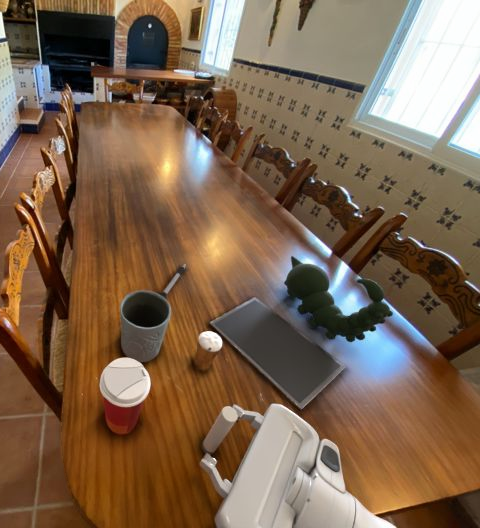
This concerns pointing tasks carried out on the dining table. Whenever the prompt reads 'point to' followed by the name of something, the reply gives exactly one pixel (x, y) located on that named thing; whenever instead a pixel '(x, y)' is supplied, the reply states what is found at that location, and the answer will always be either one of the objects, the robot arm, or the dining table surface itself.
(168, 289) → the pen
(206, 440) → the white cylindrical rod
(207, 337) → the milkshake
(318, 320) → the toy figurine
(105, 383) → the paper cup
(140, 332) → the grey embossed cup
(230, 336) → the tablet
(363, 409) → the dining table surface
